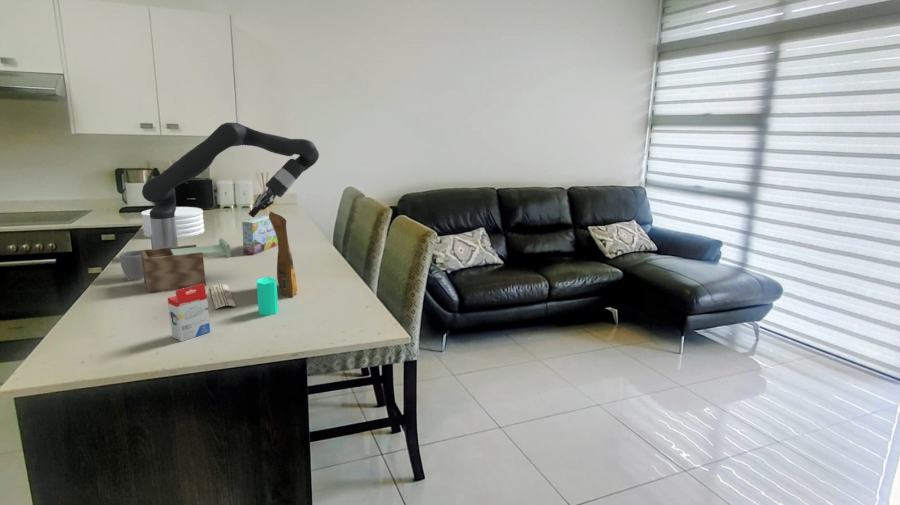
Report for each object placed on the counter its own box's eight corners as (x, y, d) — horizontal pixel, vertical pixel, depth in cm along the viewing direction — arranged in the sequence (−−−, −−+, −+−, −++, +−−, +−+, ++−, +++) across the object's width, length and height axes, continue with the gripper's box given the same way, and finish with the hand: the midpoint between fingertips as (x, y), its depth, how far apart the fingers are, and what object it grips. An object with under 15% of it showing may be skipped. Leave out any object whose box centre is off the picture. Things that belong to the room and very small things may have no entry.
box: (198, 275, 192) (195, 244, 189) (205, 285, 181) (202, 252, 178) (144, 282, 182) (140, 250, 179) (148, 293, 171) (144, 259, 168)
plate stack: (130, 236, 251) (127, 214, 248) (169, 226, 278) (167, 205, 275) (180, 240, 246) (178, 217, 244) (215, 229, 273) (214, 208, 270)
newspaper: (209, 290, 178) (209, 285, 178) (231, 287, 182) (231, 283, 181) (215, 312, 158) (215, 306, 158) (239, 309, 162) (239, 303, 161)
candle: (261, 308, 161) (259, 272, 158) (280, 308, 161) (278, 273, 159) (256, 315, 155) (253, 278, 152) (275, 315, 156) (273, 278, 153)
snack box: (254, 255, 223) (252, 222, 220) (243, 254, 224) (240, 221, 221) (279, 245, 244) (277, 214, 240) (268, 244, 245) (267, 213, 241)
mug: (149, 280, 185) (146, 255, 182) (121, 282, 181) (118, 257, 178) (150, 271, 195) (147, 247, 193) (124, 274, 191) (120, 249, 188)
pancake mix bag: (280, 300, 169) (275, 218, 162) (272, 284, 185) (267, 209, 178) (300, 297, 172) (297, 217, 165) (290, 282, 188) (287, 208, 181)
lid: (223, 250, 194) (222, 238, 193) (230, 257, 185) (229, 244, 184) (171, 256, 184) (169, 243, 183) (175, 264, 175) (174, 250, 174)
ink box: (201, 328, 144) (196, 279, 141) (210, 332, 142) (206, 283, 138) (171, 337, 138) (165, 286, 134) (180, 342, 135) (175, 290, 131)
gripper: (268, 174, 199) (238, 207, 195) (278, 177, 188) (247, 212, 184) (282, 187, 203) (253, 219, 199) (293, 190, 193) (263, 224, 189)
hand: (250, 215), depth 192 cm, fingers closed
